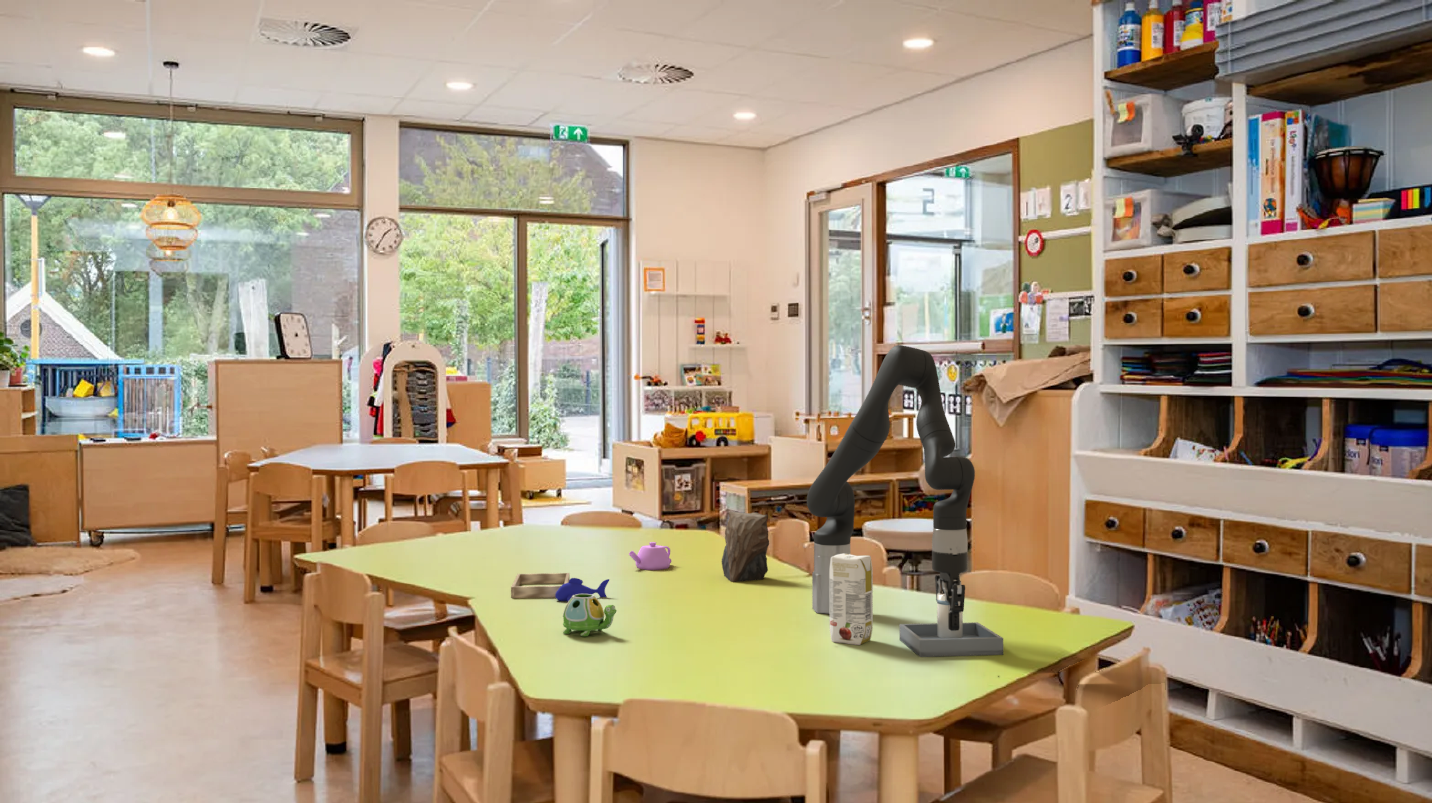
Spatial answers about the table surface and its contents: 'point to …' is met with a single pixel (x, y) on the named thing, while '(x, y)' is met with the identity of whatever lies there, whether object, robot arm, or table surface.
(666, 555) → the teapot
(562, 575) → the toy crate
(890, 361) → the robot arm
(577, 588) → the fish toy
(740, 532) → the bark-textured rock
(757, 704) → the table surface
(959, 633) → the cup
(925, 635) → the tray
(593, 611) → the turtle holder
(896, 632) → the table surface
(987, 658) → the table surface
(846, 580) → the juice carton
